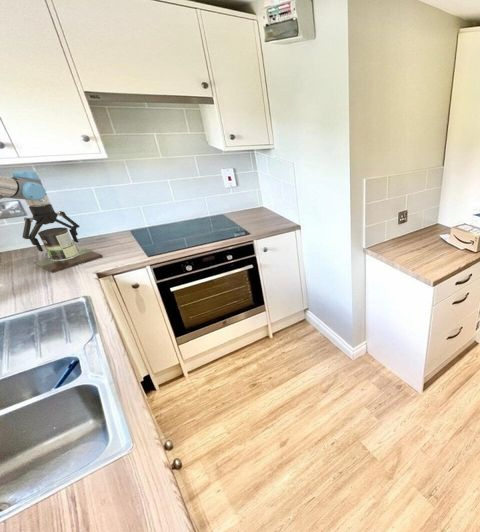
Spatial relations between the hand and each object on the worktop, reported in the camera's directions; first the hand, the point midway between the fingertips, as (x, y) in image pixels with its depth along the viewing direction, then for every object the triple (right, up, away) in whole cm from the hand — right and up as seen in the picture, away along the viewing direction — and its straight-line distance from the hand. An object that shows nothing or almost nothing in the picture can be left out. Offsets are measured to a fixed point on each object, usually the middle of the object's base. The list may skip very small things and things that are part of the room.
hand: (59, 246), depth 160 cm
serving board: (+3, -7, +2) cm, 9 cm away
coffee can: (0, -5, +3) cm, 6 cm away
